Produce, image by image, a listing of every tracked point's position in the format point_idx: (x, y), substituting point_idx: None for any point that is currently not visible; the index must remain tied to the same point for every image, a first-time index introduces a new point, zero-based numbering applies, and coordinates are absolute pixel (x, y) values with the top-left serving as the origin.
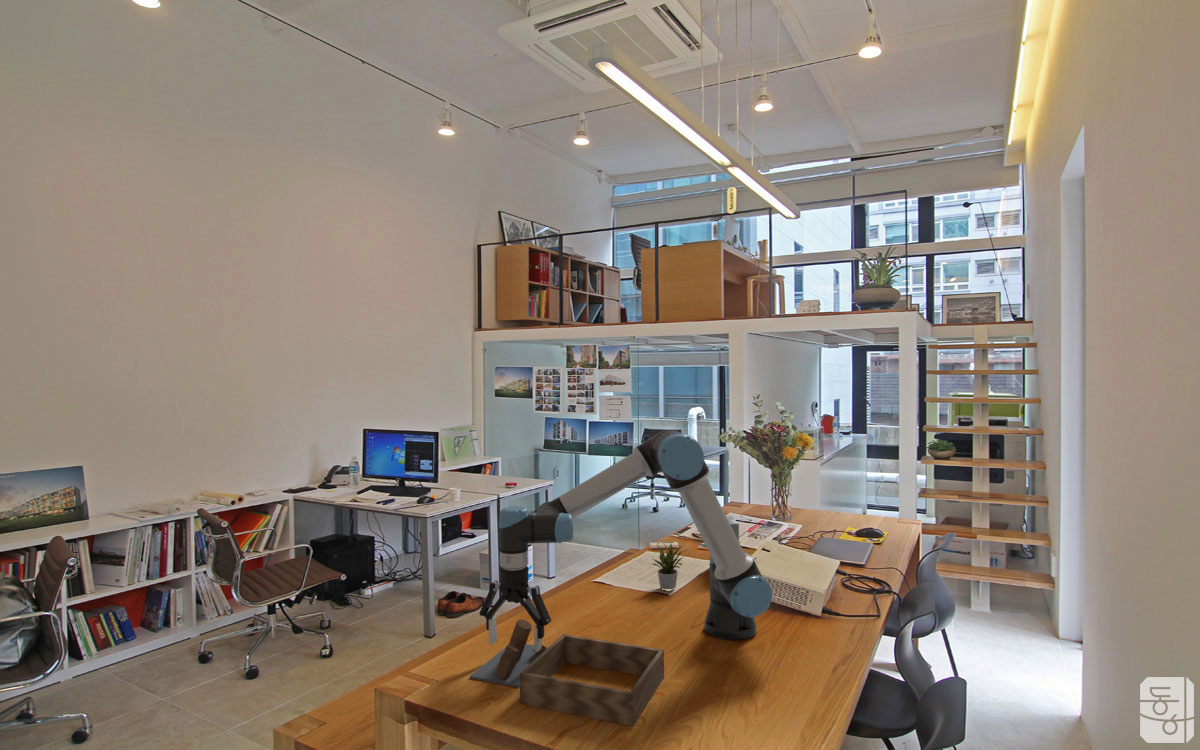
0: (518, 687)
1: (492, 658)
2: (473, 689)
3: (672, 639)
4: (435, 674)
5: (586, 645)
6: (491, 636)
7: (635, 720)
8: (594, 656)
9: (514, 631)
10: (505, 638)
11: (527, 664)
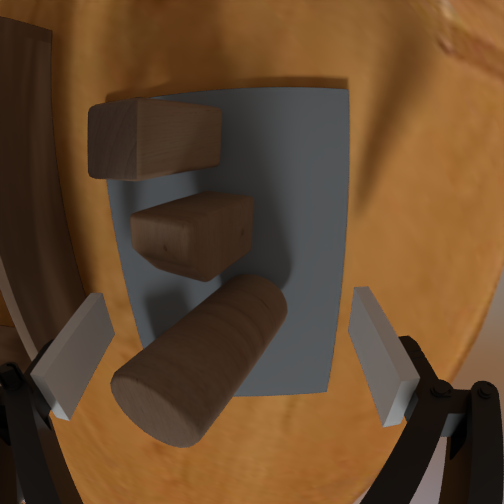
0: None
1: (339, 267)
2: (269, 15)
3: None
4: (473, 92)
5: None
6: (366, 312)
7: None
8: (2, 346)
9: (208, 363)
10: (363, 400)
11: (169, 274)
